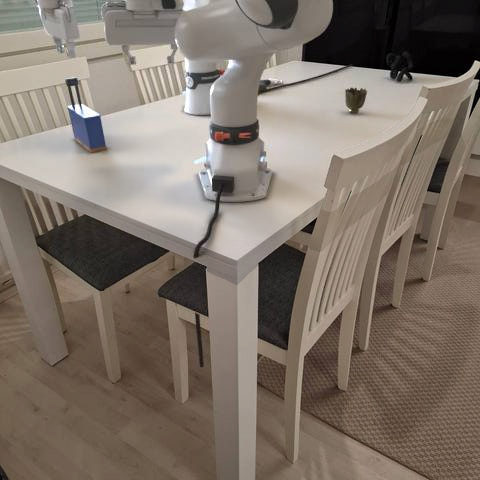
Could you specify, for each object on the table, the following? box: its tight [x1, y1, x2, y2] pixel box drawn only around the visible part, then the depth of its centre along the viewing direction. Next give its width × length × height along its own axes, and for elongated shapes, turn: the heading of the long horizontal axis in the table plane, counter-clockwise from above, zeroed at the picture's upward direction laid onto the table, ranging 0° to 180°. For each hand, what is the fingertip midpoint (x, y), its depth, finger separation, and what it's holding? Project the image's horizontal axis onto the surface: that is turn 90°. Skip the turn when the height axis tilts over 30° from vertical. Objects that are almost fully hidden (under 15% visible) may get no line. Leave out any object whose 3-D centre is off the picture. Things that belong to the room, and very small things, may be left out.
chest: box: [67, 109, 107, 153], centre depth 134 cm, size 15×5×9 cm, turn 36°
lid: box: [64, 77, 102, 121], centre depth 129 cm, size 15×5×9 cm, turn 36°
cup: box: [344, 87, 368, 115], centre depth 156 cm, size 8×7×8 cm
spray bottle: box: [258, 77, 284, 92], centre depth 191 cm, size 3×11×24 cm
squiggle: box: [385, 51, 414, 83], centre depth 198 cm, size 11×10×15 cm
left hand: (66, 55), depth 127 cm, fingers open, 8 cm apart
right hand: (151, 64), depth 109 cm, fingers open, 8 cm apart
